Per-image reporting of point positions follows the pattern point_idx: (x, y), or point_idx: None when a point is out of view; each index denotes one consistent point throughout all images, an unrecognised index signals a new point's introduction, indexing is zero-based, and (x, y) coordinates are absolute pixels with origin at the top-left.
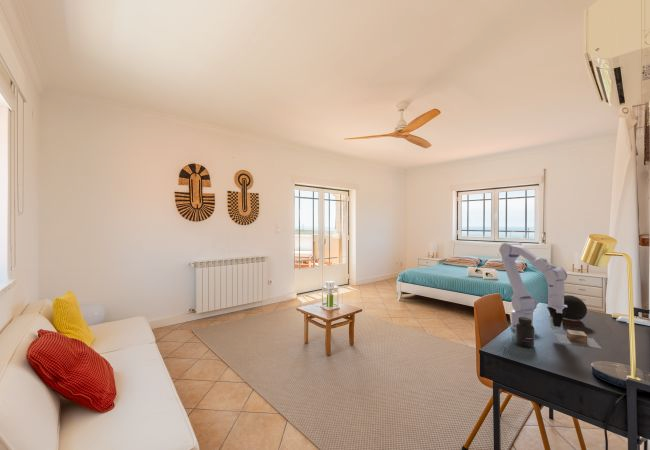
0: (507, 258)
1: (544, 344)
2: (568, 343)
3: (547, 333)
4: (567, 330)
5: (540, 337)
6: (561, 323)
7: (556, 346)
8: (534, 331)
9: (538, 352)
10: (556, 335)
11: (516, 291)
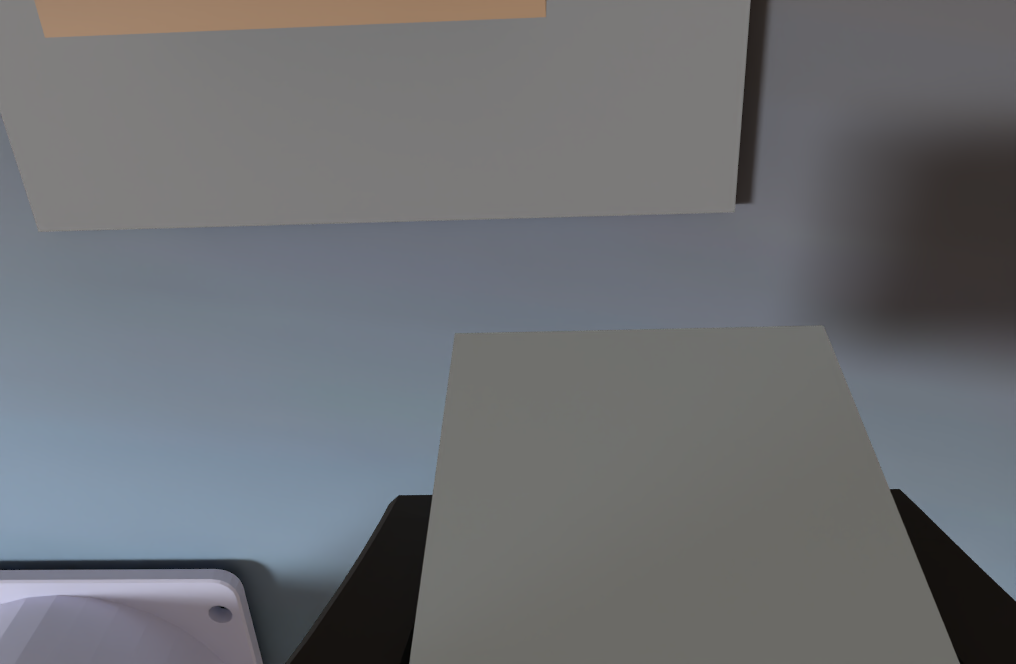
0: None
1: (939, 492)
2: (726, 31)
3: (102, 362)
4: (144, 30)
5: None
6: (892, 541)
7: (999, 308)
8: (229, 589)
9: None
10: (180, 216)
11: None
